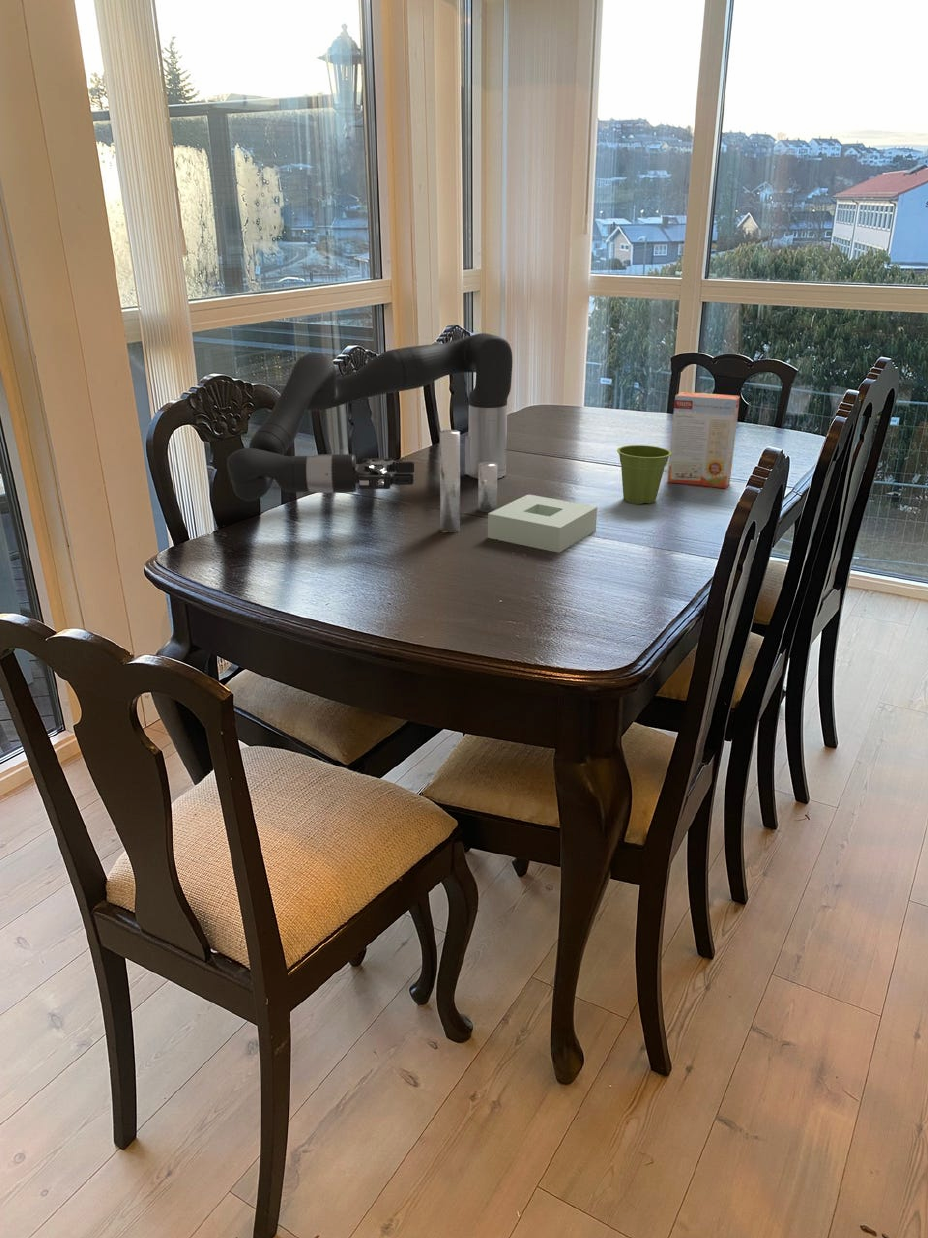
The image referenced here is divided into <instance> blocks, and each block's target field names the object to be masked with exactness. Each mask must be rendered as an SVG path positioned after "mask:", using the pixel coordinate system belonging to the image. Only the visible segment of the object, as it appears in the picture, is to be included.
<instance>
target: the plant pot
mask: <svg viewBox="0 0 928 1238" xmlns="http://www.w3.org/2000/svg"><path fill="white" fill-rule="evenodd" d="M616 451H617V453H618V455H619V456H618V457H619V463H620V468H621V481H622V496H623V500H625V502H628V503H630V504H631V503H632V504H635V505H642V504H645V503H646V504H649V505H650V504H652V503H656V500H657V497H658V495H659V494H658V493H659V490H660V486H661V484H662V483H661V482H662V479H663V475H664V472H665V468H666V466H667V463H668V462H669V457H670V455H671V454H672V453H671V451H670V449H667V448H664V447H660V446H654V445H643V444H635V445H634V444H632V445H631V444H630V445H623V446H620V447H617V449H616Z"/></svg>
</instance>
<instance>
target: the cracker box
mask: <svg viewBox="0 0 928 1238" xmlns="http://www.w3.org/2000/svg"><path fill="white" fill-rule="evenodd" d="M740 398H741V396H740V395H733V394H732V395H731V394H719V393H705V392H691V391H690V392H689V391H688V392H687V391H680V392H679V393H677V394H675V397H674V404H673V405H674V407H673V414H672V416H673V417H672V426H671V435H670V436H671V438H670V446H669V447H670V449H669V451H671V453H672V454H671V455H670V456H669V457H668V469H667V470H668V471H667V482H668V483H673V484H674V483H675V484H682V485H692V486H701V487H710V488H718V489H726V488H727V487H728V485H729V484H730V483H731V474H732V467H733V459H734V458H733V457H734V452H735V451H734V450H735V441H736V434H737V433H736V432H737V425H738V416H739V407H740Z"/></svg>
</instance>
